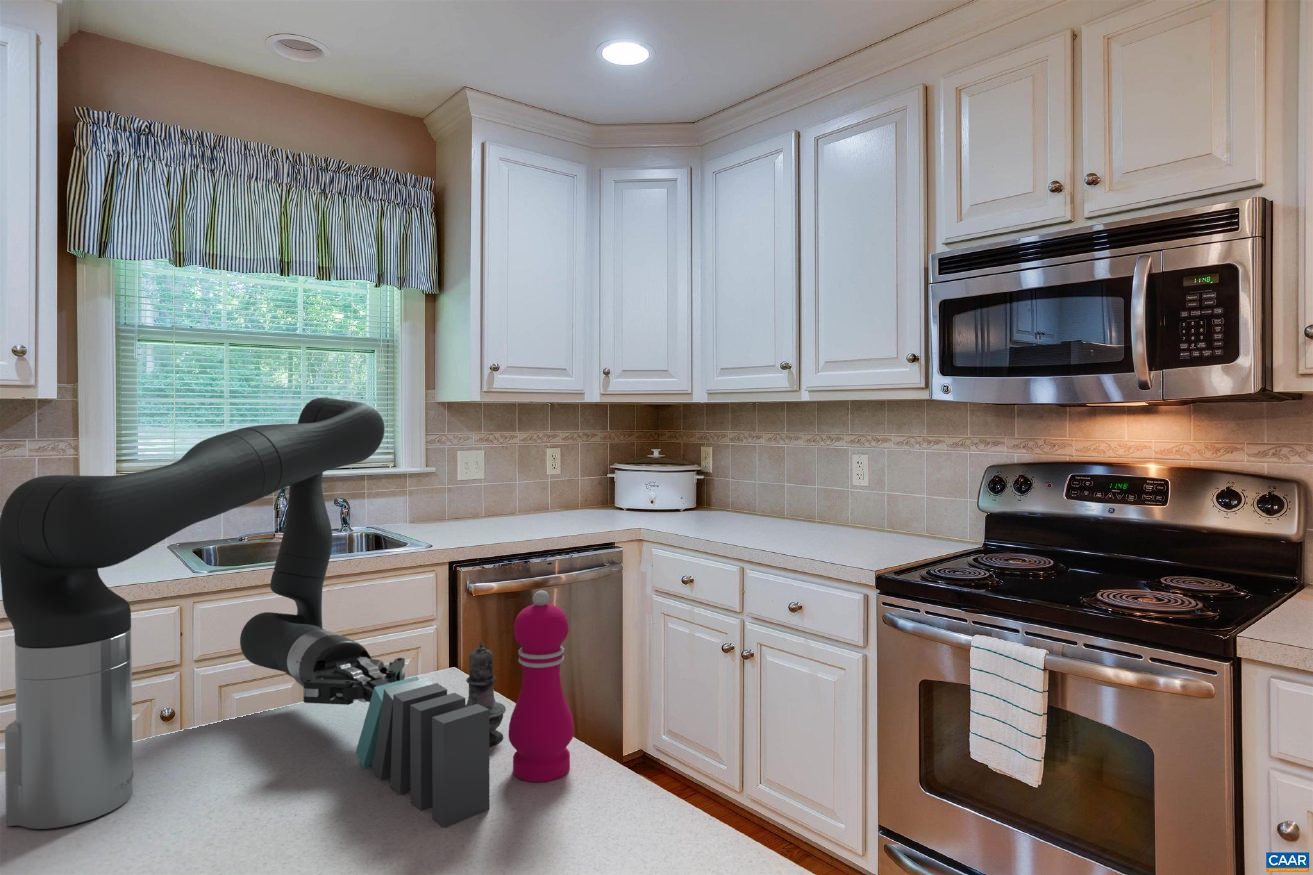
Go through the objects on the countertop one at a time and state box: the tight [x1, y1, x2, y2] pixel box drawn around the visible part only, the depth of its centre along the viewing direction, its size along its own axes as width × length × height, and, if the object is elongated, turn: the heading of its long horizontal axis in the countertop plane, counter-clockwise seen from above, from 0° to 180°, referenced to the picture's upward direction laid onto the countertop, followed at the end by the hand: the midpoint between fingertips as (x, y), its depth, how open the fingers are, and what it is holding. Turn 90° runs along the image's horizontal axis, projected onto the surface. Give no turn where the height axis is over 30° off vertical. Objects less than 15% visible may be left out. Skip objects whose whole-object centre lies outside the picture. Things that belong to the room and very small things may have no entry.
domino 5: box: [432, 704, 491, 829], centre depth 74 cm, size 2×5×10 cm, turn 135°
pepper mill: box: [508, 590, 575, 783], centre depth 83 cm, size 7×7×20 cm
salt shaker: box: [465, 640, 507, 748], centre depth 92 cm, size 6×6×12 cm
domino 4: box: [410, 692, 466, 812], centre depth 77 cm, size 2×5×10 cm, turn 135°
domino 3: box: [389, 682, 448, 796], centre depth 80 cm, size 2×5×10 cm, turn 135°
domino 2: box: [371, 677, 433, 782], centre depth 82 cm, size 2×5×10 cm, turn 135°
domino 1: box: [355, 676, 420, 768], centre depth 85 cm, size 2×5×10 cm, turn 135°
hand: (389, 697), depth 85 cm, fingers closed
